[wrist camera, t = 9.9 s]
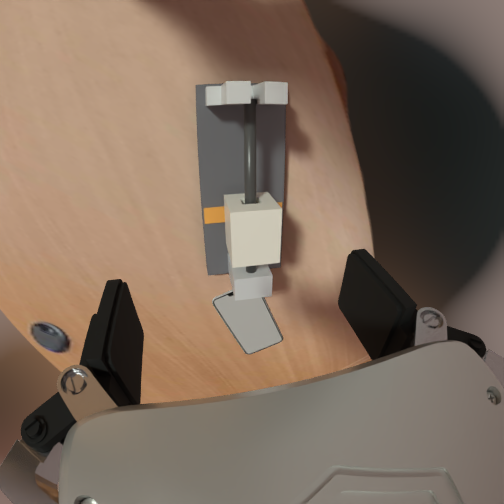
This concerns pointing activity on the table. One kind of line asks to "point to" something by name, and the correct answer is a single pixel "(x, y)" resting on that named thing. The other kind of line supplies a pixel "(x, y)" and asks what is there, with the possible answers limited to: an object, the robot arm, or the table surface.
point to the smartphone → (248, 321)
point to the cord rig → (239, 166)
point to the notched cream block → (252, 230)
